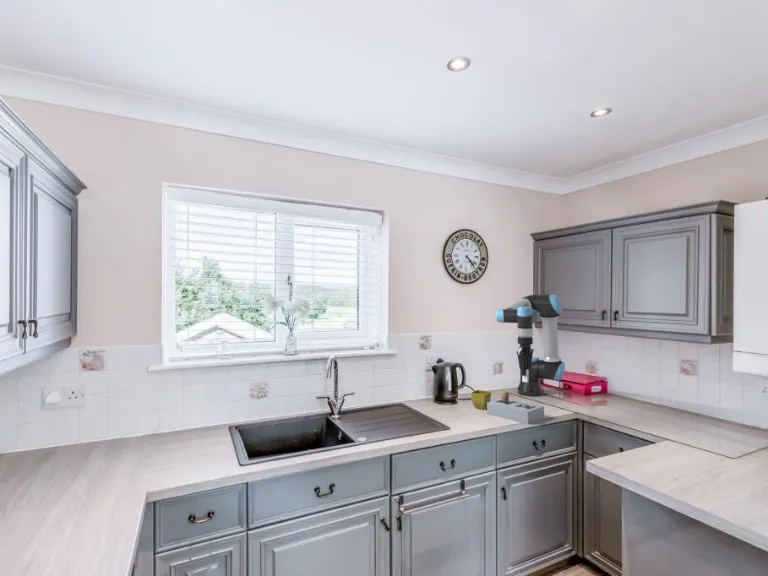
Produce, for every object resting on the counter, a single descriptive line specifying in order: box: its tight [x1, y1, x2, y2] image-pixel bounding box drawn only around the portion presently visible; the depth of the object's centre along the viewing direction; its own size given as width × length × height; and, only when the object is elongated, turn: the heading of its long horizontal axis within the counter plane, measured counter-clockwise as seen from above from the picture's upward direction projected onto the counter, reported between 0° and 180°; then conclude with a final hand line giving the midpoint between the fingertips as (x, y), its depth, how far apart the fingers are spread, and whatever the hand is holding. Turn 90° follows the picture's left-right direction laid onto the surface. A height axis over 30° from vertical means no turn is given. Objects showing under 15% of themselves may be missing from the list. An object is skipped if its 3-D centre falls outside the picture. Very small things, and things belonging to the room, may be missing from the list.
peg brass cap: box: [501, 390, 510, 404], centre depth 228 cm, size 4×4×6 cm
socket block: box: [486, 397, 545, 425], centre depth 224 cm, size 16×24×6 cm, turn 41°
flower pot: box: [470, 389, 492, 410], centre depth 239 cm, size 9×9×9 cm
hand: (525, 381), depth 220 cm, fingers closed
